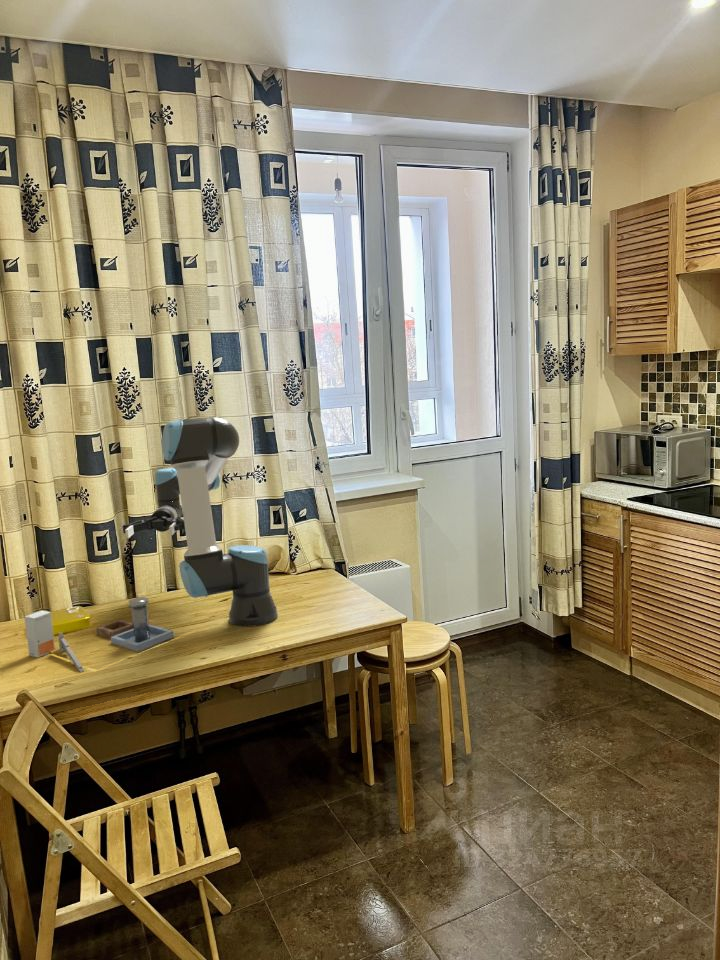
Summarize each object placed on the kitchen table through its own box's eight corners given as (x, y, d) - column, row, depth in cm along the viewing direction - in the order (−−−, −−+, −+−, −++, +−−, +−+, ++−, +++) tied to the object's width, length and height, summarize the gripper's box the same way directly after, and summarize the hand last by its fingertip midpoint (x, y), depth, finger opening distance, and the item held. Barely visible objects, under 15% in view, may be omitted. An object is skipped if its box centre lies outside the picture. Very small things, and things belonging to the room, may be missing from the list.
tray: (173, 638, 222) (173, 631, 221) (137, 653, 212) (136, 645, 212) (147, 630, 230) (146, 623, 229) (111, 644, 220) (110, 637, 219)
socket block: (136, 631, 229) (136, 623, 229) (113, 640, 223) (112, 632, 223) (120, 626, 235) (119, 619, 234) (97, 635, 228) (96, 627, 228)
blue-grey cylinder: (156, 638, 221) (152, 599, 219) (140, 644, 217) (135, 604, 215) (144, 634, 225) (140, 596, 223) (129, 641, 220) (124, 601, 218)
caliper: (59, 652, 217) (57, 631, 216) (63, 651, 218) (60, 630, 217) (80, 673, 201) (77, 651, 200) (84, 672, 202) (81, 650, 201)
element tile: (34, 628, 240) (32, 613, 239) (82, 617, 247) (80, 603, 247) (42, 641, 227) (40, 626, 226) (92, 629, 235) (91, 615, 234)
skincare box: (38, 658, 213) (32, 618, 211) (28, 656, 215) (23, 616, 213) (56, 650, 218) (51, 611, 216) (47, 648, 220) (42, 609, 218)
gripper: (201, 526, 253) (190, 541, 232) (128, 532, 252) (109, 547, 231) (199, 505, 252) (187, 518, 231) (125, 510, 251) (107, 523, 230)
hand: (148, 532), depth 231 cm, fingers open, 13 cm apart
